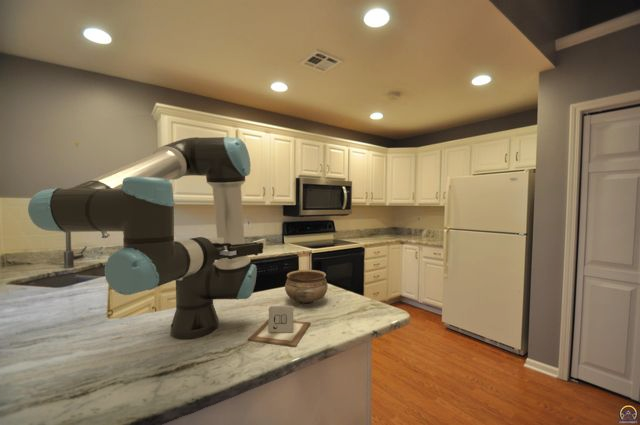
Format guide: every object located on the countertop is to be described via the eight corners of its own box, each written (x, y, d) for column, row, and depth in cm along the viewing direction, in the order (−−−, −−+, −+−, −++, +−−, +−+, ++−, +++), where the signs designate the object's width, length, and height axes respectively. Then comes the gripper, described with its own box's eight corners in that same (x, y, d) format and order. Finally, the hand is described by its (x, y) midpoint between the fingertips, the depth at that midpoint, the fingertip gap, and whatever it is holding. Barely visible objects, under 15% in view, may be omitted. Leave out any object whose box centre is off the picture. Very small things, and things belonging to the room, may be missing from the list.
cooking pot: (284, 293, 128) (284, 268, 128) (322, 291, 131) (322, 267, 131) (285, 314, 103) (285, 283, 103) (332, 311, 106) (332, 281, 106)
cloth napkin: (247, 340, 83) (247, 338, 83) (269, 319, 99) (269, 317, 99) (295, 347, 79) (295, 344, 79) (310, 324, 95) (310, 322, 95)
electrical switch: (267, 333, 86) (268, 307, 87) (270, 328, 91) (270, 304, 92) (293, 333, 87) (293, 307, 87) (294, 328, 91) (294, 303, 92)
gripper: (143, 270, 59) (206, 253, 80) (242, 277, 53) (283, 257, 73) (142, 237, 59) (206, 229, 79) (242, 240, 53) (283, 230, 73)
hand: (243, 242), depth 76 cm, fingers open, 13 cm apart
